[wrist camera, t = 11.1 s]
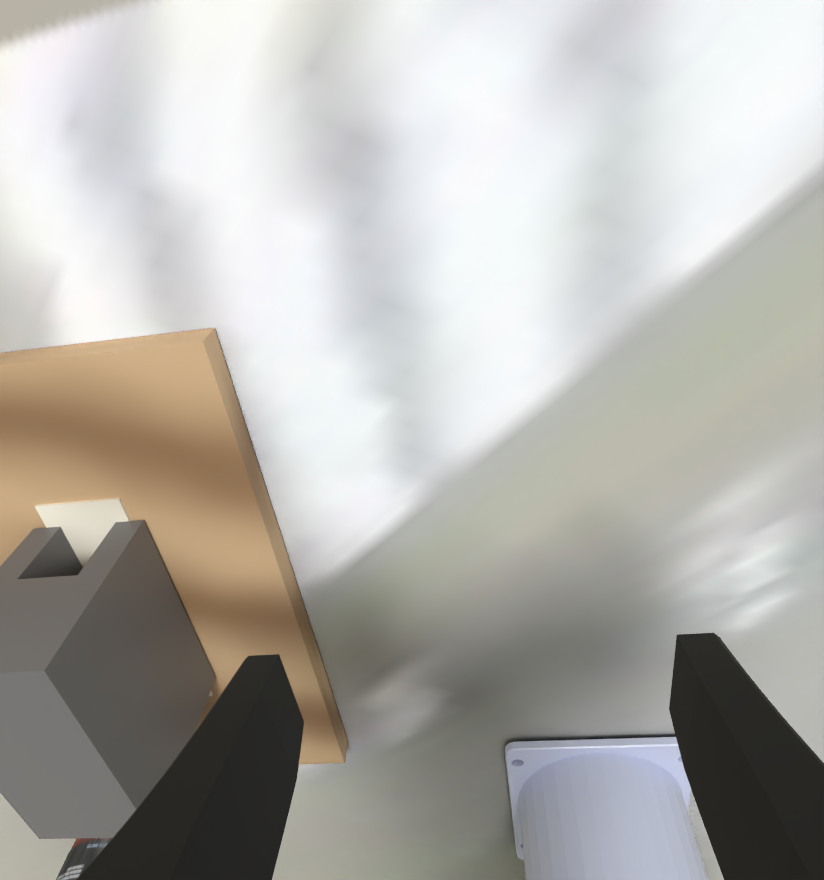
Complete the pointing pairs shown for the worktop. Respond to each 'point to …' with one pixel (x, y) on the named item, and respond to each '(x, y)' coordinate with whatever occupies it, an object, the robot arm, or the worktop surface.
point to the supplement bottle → (81, 856)
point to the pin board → (163, 495)
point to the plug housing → (92, 680)
